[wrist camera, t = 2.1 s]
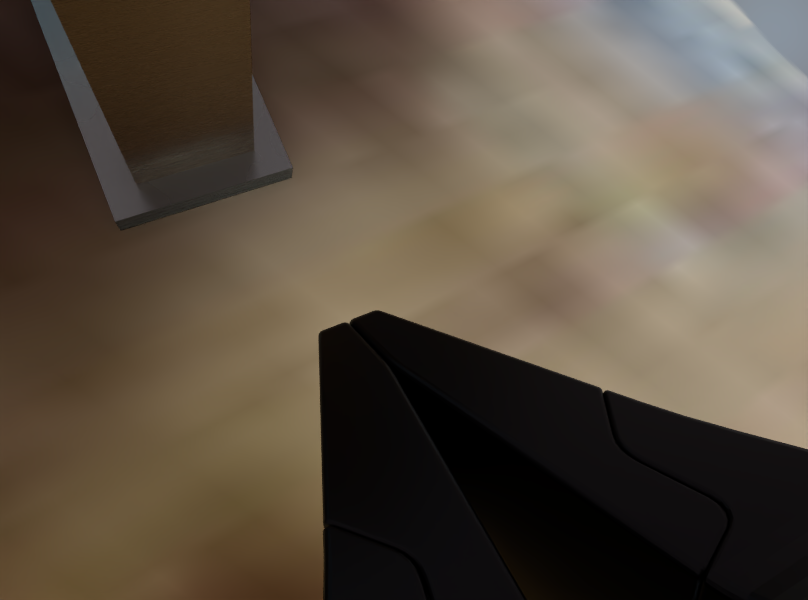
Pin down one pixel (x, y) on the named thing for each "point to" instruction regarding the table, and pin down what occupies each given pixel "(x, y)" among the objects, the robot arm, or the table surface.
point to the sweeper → (164, 101)
